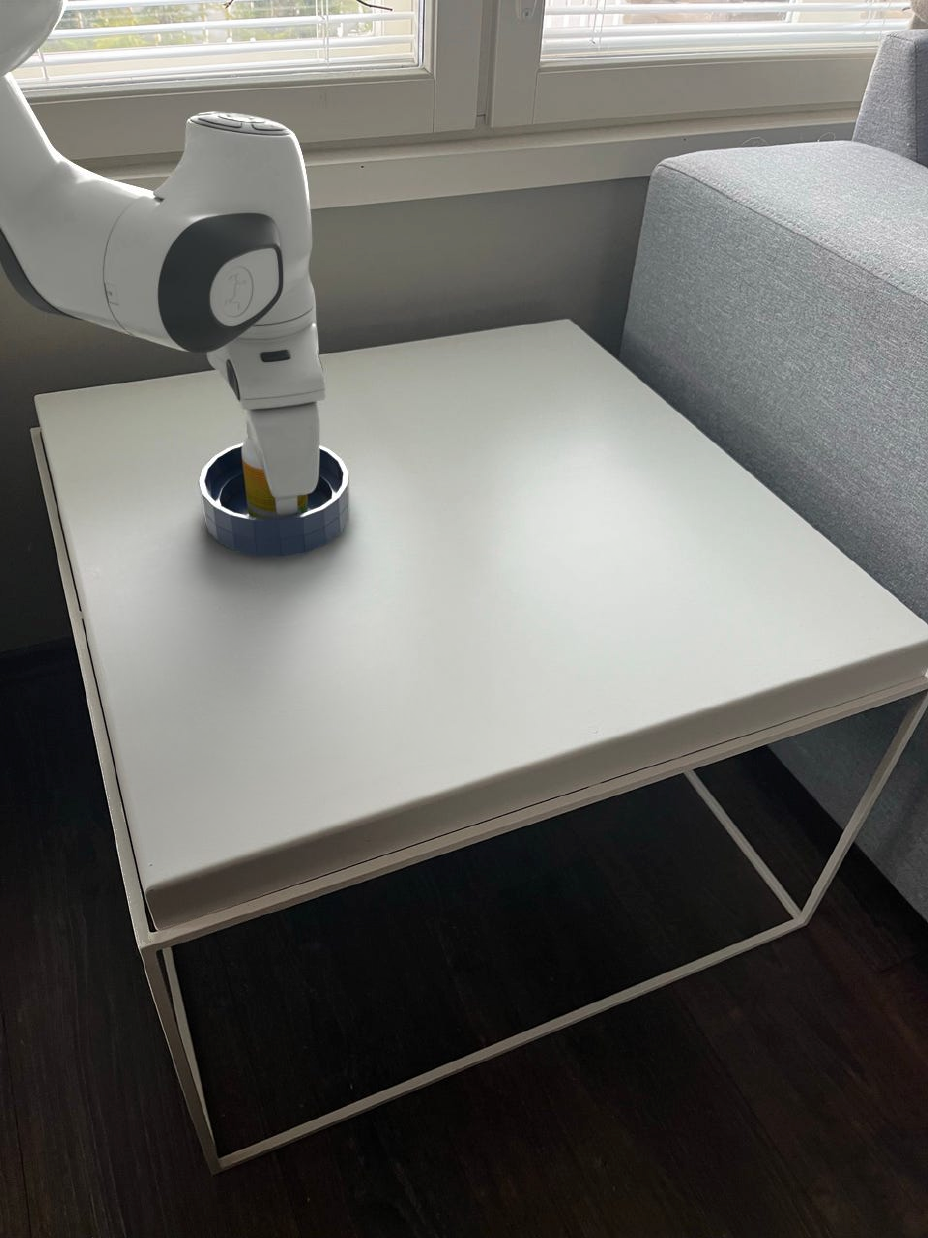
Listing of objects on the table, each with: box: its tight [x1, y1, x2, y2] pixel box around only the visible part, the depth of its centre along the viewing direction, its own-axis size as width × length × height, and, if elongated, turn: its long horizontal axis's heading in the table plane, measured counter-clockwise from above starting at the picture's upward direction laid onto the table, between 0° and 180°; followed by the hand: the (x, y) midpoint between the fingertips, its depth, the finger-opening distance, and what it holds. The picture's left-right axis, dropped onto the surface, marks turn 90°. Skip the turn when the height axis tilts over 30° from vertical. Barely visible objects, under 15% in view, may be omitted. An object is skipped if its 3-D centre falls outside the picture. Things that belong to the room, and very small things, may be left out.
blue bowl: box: [198, 442, 351, 558], centre depth 88 cm, size 13×13×4 cm
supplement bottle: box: [242, 420, 308, 518], centre depth 85 cm, size 5×5×10 cm
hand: (274, 480), depth 86 cm, fingers open, 8 cm apart
